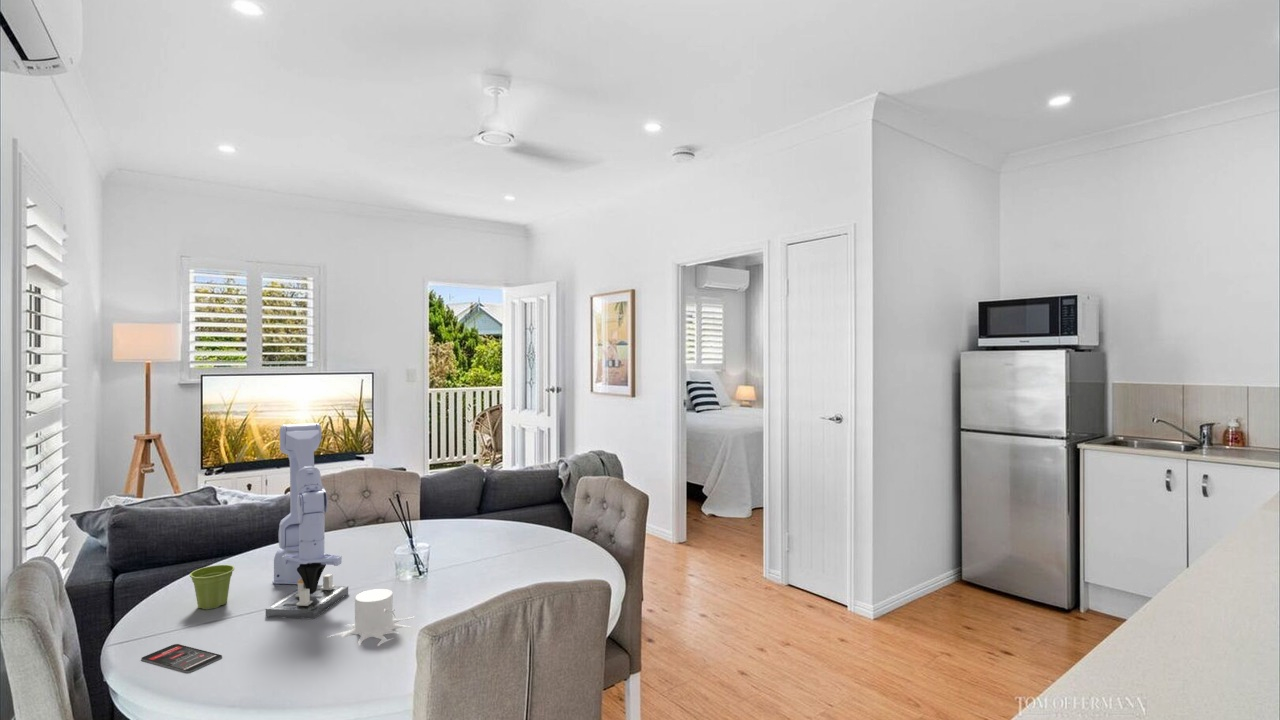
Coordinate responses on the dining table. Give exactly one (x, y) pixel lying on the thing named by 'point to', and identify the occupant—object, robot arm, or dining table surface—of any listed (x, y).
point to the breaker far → (327, 582)
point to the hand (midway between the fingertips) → (311, 592)
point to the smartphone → (181, 658)
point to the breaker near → (304, 597)
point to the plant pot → (212, 585)
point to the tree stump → (374, 615)
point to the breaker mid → (300, 586)
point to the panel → (319, 604)
